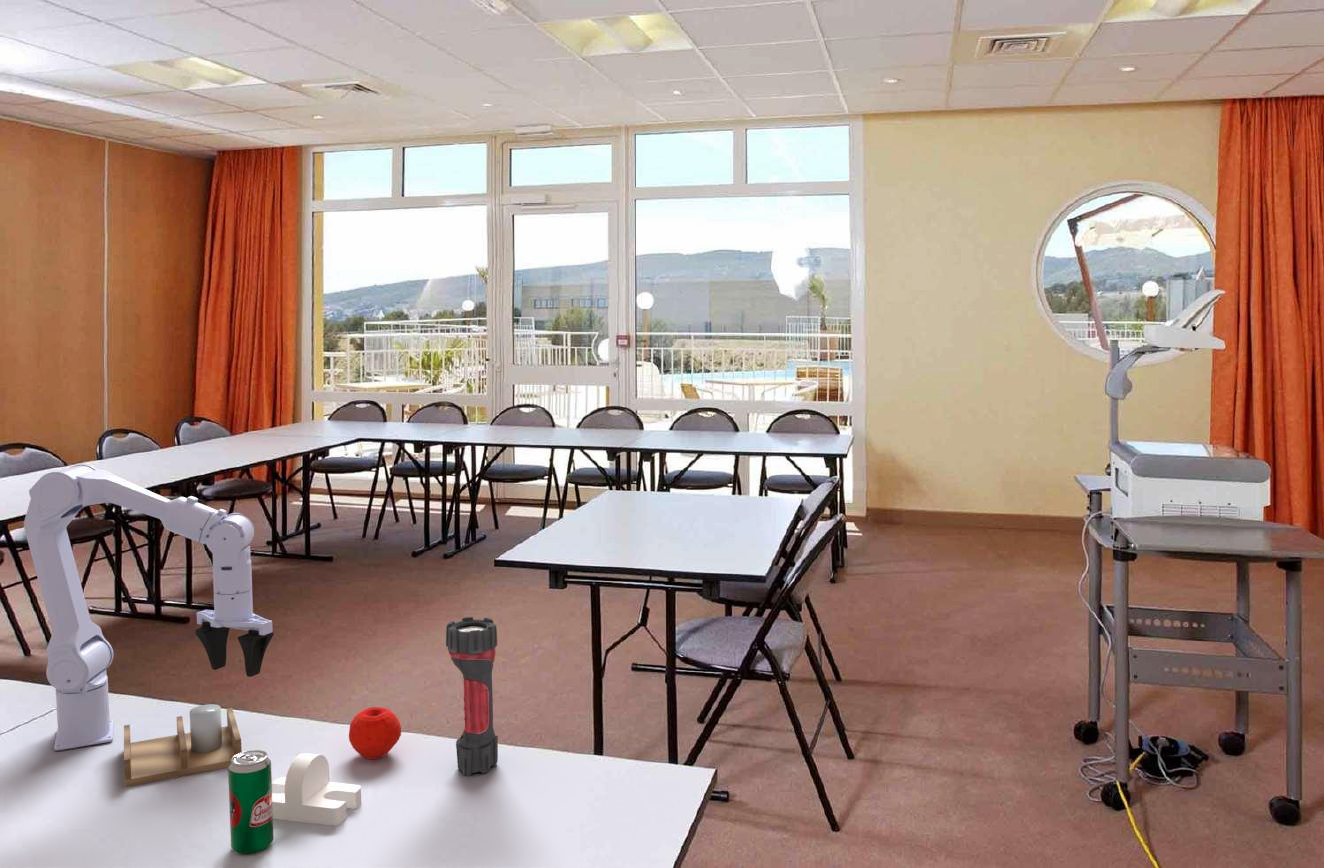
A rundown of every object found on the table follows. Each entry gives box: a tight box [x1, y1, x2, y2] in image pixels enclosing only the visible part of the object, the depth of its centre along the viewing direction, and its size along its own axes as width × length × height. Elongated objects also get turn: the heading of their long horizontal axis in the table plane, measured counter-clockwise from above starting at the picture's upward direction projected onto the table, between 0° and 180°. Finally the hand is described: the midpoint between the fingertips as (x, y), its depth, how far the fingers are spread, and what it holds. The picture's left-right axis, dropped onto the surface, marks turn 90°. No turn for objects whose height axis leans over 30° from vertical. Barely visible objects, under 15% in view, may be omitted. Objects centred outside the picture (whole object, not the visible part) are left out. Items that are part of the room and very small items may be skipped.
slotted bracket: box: [272, 752, 362, 826], centre depth 134 cm, size 13×7×8 cm, turn 79°
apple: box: [348, 706, 402, 760], centre depth 151 cm, size 8×8×7 cm
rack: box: [123, 707, 243, 787], centre depth 150 cm, size 14×16×4 cm
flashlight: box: [445, 616, 499, 777], centre depth 145 cm, size 8×8×23 cm
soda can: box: [227, 749, 275, 856], centre depth 124 cm, size 5×5×12 cm
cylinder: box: [189, 703, 222, 753], centre depth 151 cm, size 4×4×6 cm
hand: (235, 671), depth 158 cm, fingers open, 7 cm apart
